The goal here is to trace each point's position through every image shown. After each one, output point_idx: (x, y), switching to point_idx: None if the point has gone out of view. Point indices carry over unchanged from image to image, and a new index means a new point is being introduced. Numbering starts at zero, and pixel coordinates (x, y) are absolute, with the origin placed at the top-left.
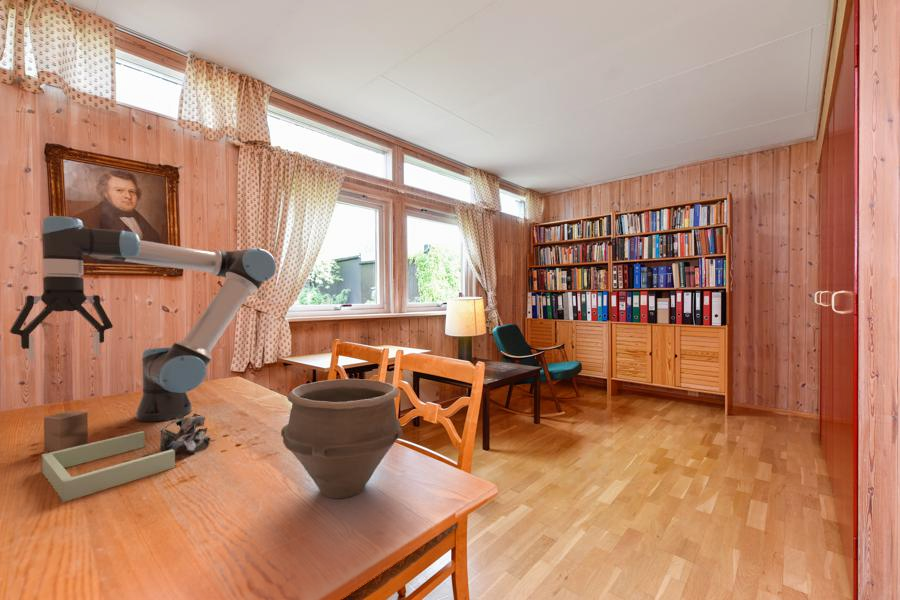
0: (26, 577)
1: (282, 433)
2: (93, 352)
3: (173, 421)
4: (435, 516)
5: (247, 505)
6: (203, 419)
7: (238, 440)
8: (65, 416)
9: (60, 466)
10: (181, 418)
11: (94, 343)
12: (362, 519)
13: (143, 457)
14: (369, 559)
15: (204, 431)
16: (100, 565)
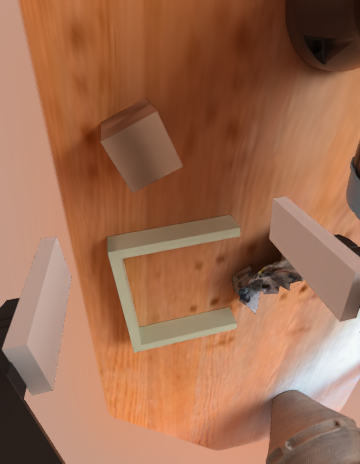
0: (115, 408)
1: (281, 449)
2: (278, 205)
3: (277, 263)
4: None
5: (234, 393)
6: None
7: None
8: (142, 172)
9: (131, 311)
10: None
11: (301, 252)
12: (265, 424)
13: (206, 330)
14: (243, 444)
15: None
16: (149, 412)
